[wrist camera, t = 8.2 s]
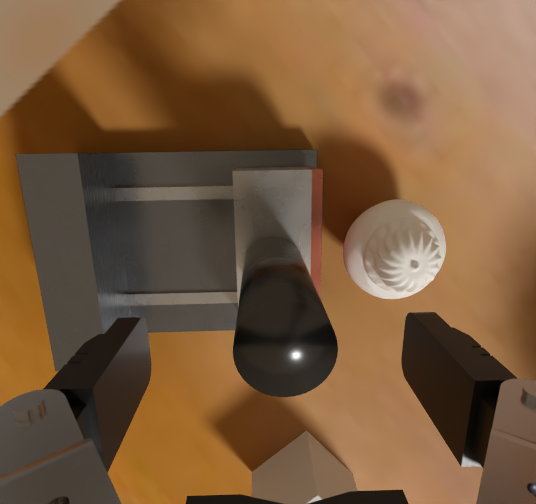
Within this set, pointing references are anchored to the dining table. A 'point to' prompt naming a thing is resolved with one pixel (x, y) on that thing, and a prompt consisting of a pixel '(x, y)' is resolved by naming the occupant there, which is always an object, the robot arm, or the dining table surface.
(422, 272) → the white rounded ridged piece
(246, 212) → the sliding jaw
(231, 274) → the jaw track
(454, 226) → the dining table surface
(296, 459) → the white cube
